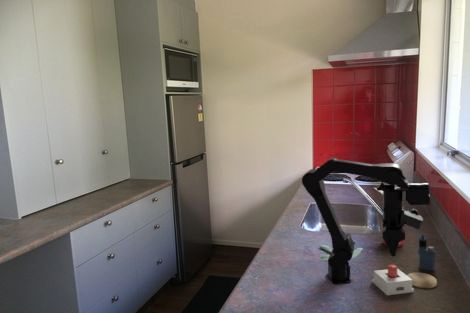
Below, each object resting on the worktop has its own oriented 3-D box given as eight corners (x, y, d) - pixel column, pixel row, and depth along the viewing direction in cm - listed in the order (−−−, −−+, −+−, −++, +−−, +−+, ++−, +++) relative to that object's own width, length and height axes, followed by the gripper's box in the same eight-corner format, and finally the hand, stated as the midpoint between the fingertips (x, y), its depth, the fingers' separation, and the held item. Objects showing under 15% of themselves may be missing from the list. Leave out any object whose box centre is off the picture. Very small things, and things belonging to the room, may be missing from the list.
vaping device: (418, 265, 135) (419, 233, 133) (435, 268, 132) (436, 236, 130) (417, 268, 132) (418, 236, 131) (434, 271, 130) (435, 238, 128)
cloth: (318, 265, 140) (318, 259, 140) (309, 243, 162) (309, 237, 161) (373, 263, 139) (373, 257, 139) (357, 241, 161) (357, 236, 160)
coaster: (417, 289, 118) (417, 286, 118) (400, 276, 127) (401, 274, 127) (443, 286, 119) (443, 283, 119) (425, 273, 128) (425, 271, 128)
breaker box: (387, 295, 116) (387, 283, 115) (372, 281, 124) (372, 270, 124) (413, 292, 117) (413, 280, 116) (397, 278, 126) (397, 267, 125)
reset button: (390, 282, 119) (391, 268, 118) (386, 278, 122) (386, 265, 121) (398, 281, 119) (399, 267, 118) (394, 277, 122) (394, 264, 121)
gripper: (424, 214, 105) (424, 266, 107) (418, 197, 122) (418, 242, 125) (382, 212, 109) (382, 262, 112) (382, 196, 126) (382, 239, 129)
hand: (393, 251), depth 119 cm, fingers open, 8 cm apart
